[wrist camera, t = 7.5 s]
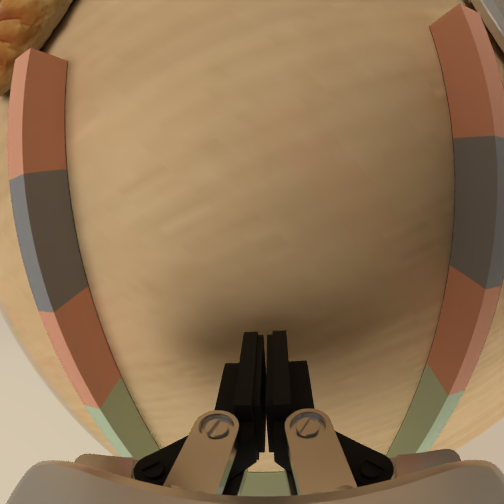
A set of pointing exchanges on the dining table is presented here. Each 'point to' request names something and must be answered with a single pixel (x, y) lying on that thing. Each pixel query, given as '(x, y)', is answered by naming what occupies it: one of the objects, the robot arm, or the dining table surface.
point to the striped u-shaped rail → (81, 304)
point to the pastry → (25, 30)
